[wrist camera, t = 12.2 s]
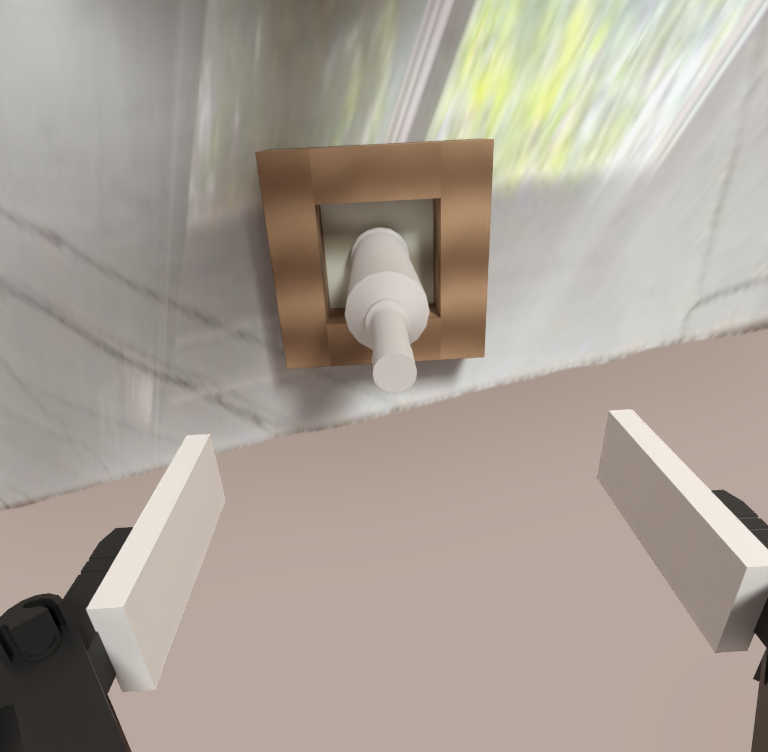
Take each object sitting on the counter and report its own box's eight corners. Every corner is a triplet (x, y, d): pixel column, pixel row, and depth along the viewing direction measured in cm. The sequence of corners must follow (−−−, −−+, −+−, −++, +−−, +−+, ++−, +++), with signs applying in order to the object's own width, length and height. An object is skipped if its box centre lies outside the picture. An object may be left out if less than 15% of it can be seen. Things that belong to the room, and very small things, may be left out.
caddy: (266, 149, 42) (255, 151, 38) (479, 138, 42) (493, 139, 38) (293, 347, 50) (286, 368, 46) (473, 337, 50) (484, 357, 46)
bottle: (416, 267, 46) (467, 397, 24) (365, 290, 47) (367, 437, 24) (394, 214, 44) (425, 300, 21) (341, 239, 45) (317, 348, 22)
